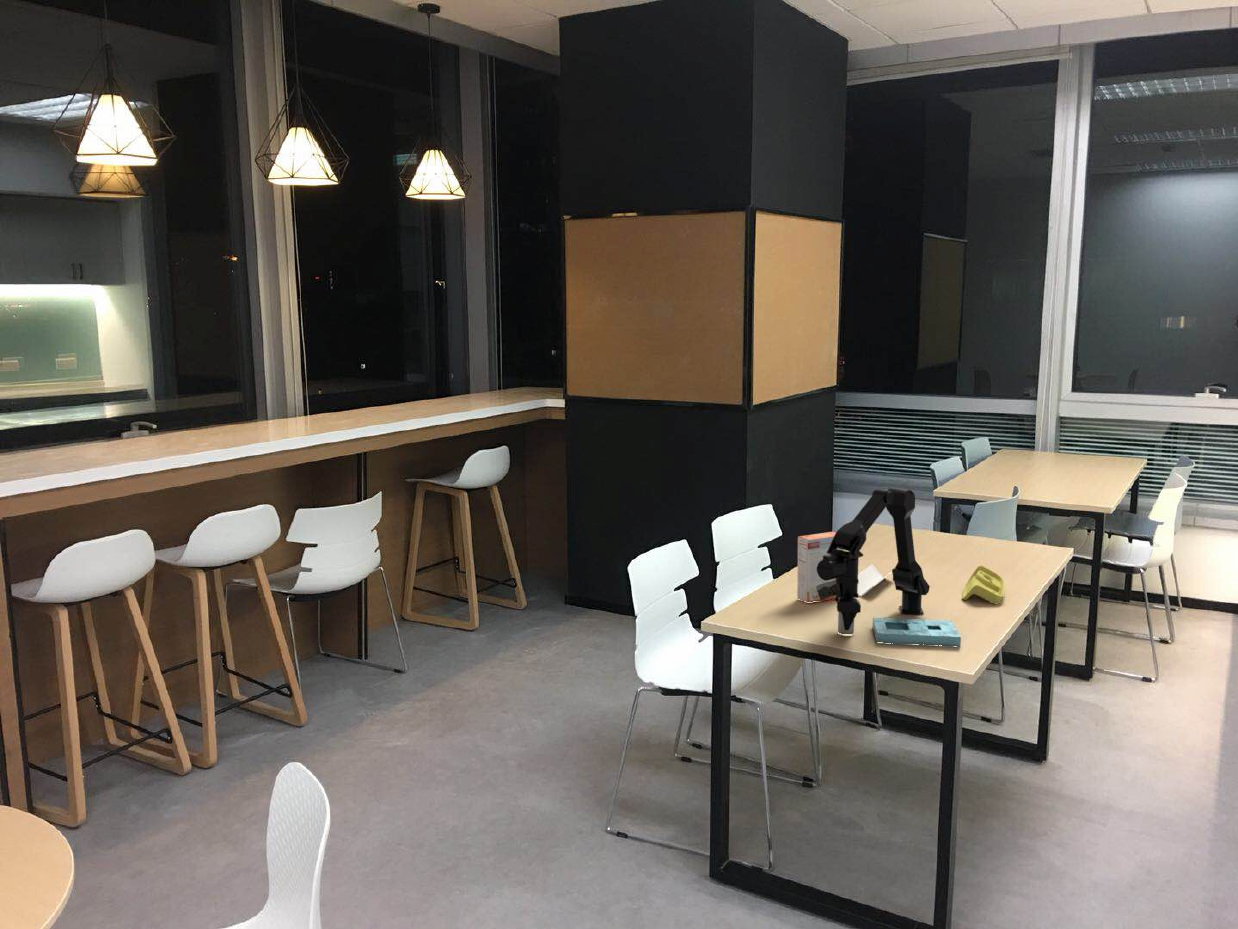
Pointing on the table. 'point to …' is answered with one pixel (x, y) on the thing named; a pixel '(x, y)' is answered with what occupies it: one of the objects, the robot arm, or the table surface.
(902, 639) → the plate
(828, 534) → the cracker box
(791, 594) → the table surface
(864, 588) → the z bracket
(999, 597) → the plastic component
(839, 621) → the grey cylinder
